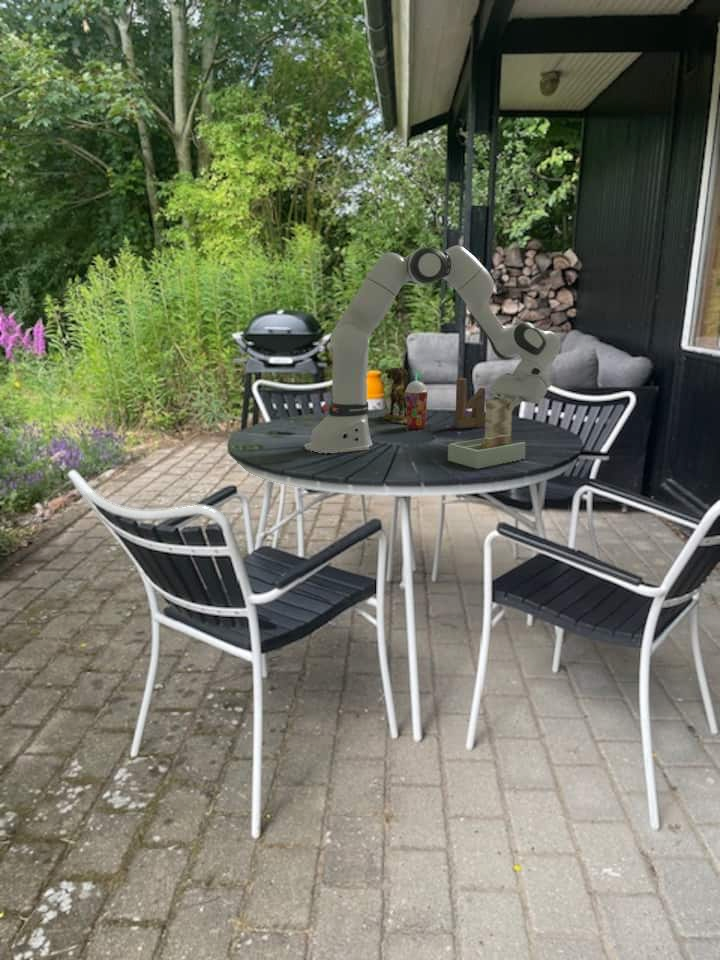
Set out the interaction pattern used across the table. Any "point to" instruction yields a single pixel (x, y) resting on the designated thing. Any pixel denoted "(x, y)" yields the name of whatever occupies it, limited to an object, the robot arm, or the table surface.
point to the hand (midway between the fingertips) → (504, 408)
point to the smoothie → (416, 404)
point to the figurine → (397, 394)
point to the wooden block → (469, 407)
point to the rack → (484, 453)
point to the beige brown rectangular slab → (498, 417)
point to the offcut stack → (496, 441)
